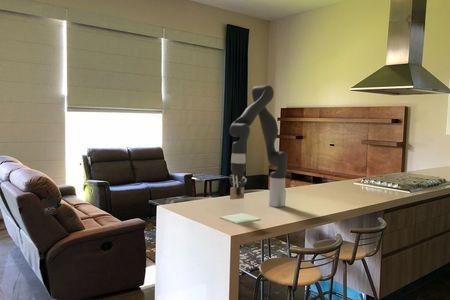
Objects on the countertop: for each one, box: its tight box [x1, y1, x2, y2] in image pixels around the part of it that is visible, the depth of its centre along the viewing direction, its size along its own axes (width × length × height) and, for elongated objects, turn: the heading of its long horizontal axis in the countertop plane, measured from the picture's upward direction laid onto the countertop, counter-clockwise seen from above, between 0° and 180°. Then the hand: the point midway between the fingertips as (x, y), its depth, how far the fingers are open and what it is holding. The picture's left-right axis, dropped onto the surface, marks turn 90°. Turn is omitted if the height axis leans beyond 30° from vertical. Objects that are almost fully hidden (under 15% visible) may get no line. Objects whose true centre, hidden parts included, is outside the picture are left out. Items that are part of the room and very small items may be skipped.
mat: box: [219, 212, 262, 225], centre depth 197 cm, size 16×14×1 cm
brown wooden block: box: [229, 186, 245, 200], centre depth 199 cm, size 8×2×6 cm, turn 128°
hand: (237, 195), depth 199 cm, fingers closed on brown wooden block, 1 cm apart
